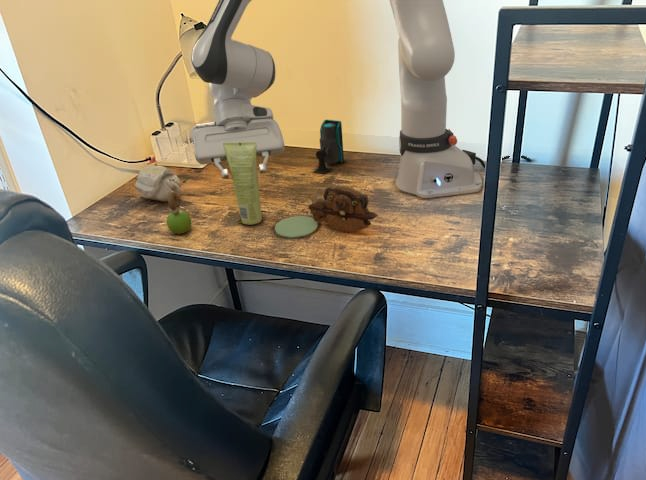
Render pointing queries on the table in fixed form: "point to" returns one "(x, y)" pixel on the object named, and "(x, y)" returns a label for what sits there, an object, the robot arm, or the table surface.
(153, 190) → the fossil replica
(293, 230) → the coaster
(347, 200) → the wooden carving
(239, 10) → the robot arm
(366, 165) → the table surface
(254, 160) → the tube
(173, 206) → the green bulbous piece
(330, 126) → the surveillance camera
